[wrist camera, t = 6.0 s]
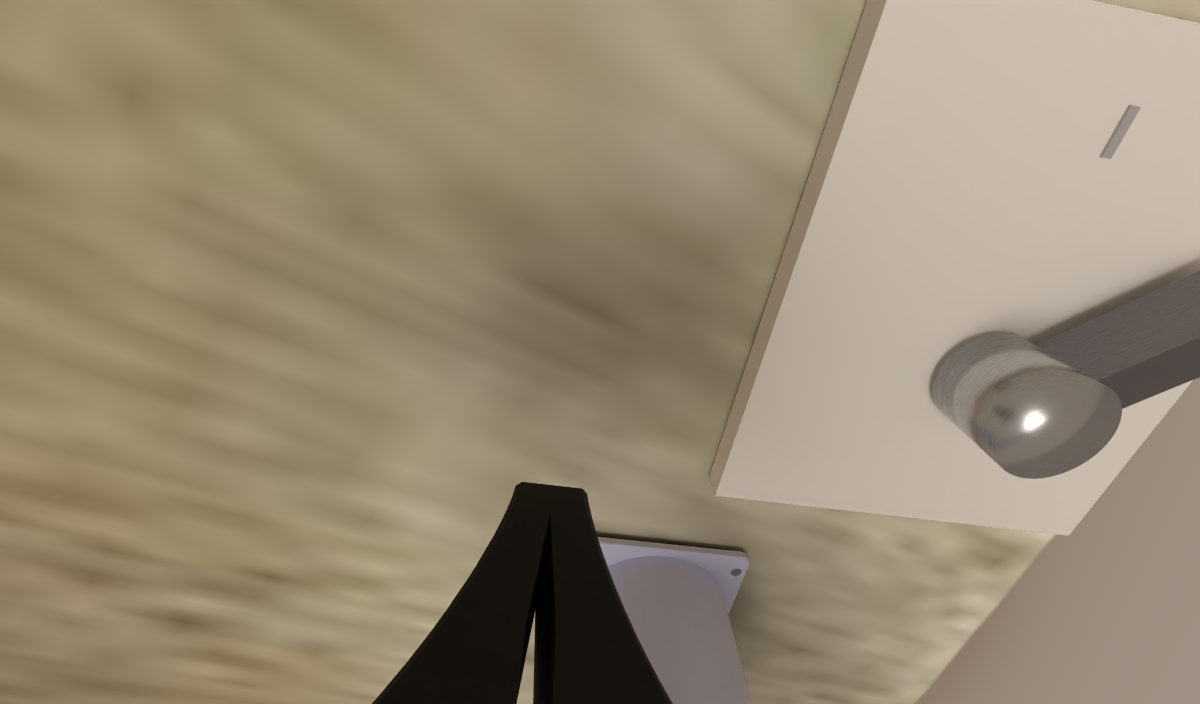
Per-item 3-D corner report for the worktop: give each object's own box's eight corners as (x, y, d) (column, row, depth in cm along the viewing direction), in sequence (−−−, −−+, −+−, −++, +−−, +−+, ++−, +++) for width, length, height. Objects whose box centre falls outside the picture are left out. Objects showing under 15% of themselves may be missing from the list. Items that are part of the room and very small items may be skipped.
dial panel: (1047, 515, 23) (1070, 537, 22) (709, 476, 22) (715, 497, 21) (1378, 74, 15) (1442, 74, 14) (877, -32, 14) (903, -42, 13)
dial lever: (946, 435, 19) (1007, 495, 17) (920, 365, 18) (981, 417, 15) (1207, 322, 17) (1327, 368, 15) (1201, 233, 16) (1332, 265, 13)
